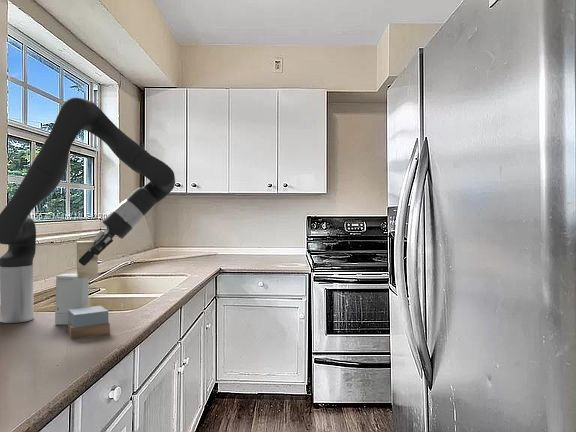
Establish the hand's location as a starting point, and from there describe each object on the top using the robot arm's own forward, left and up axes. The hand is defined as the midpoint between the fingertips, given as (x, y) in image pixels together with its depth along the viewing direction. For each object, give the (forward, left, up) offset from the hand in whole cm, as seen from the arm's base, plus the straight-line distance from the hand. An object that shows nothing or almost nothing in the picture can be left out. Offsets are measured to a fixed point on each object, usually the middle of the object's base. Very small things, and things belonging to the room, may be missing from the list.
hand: (80, 262), depth 143 cm
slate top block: (0, +2, -17) cm, 17 cm away
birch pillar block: (0, +2, -4) cm, 5 cm away
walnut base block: (0, +2, -21) cm, 21 cm away
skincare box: (-15, -1, -20) cm, 25 cm away
